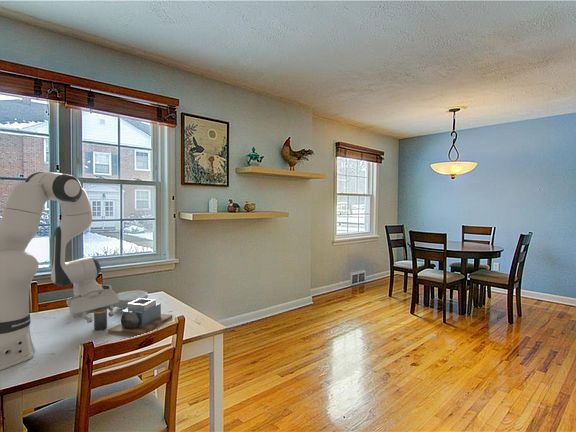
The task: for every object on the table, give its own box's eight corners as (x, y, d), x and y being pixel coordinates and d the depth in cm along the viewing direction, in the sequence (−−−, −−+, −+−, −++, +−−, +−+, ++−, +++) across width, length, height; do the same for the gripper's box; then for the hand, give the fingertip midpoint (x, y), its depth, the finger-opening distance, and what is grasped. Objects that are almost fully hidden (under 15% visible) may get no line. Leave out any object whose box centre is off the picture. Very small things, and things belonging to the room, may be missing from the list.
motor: (141, 337, 142) (140, 311, 141) (107, 333, 145) (107, 308, 144) (172, 318, 165) (172, 295, 164) (142, 315, 168) (142, 293, 168)
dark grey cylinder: (101, 331, 147) (101, 312, 147) (91, 330, 148) (91, 311, 148) (109, 327, 152) (109, 308, 152) (100, 325, 153) (99, 307, 153)
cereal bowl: (105, 309, 175) (105, 296, 175) (133, 301, 190) (133, 288, 190) (127, 315, 168) (127, 301, 167) (154, 306, 182) (154, 293, 182)
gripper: (67, 294, 145) (78, 321, 140) (114, 284, 162) (125, 309, 157) (62, 302, 147) (73, 329, 142) (109, 292, 164) (120, 316, 159)
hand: (101, 318), depth 150 cm, fingers open, 8 cm apart
